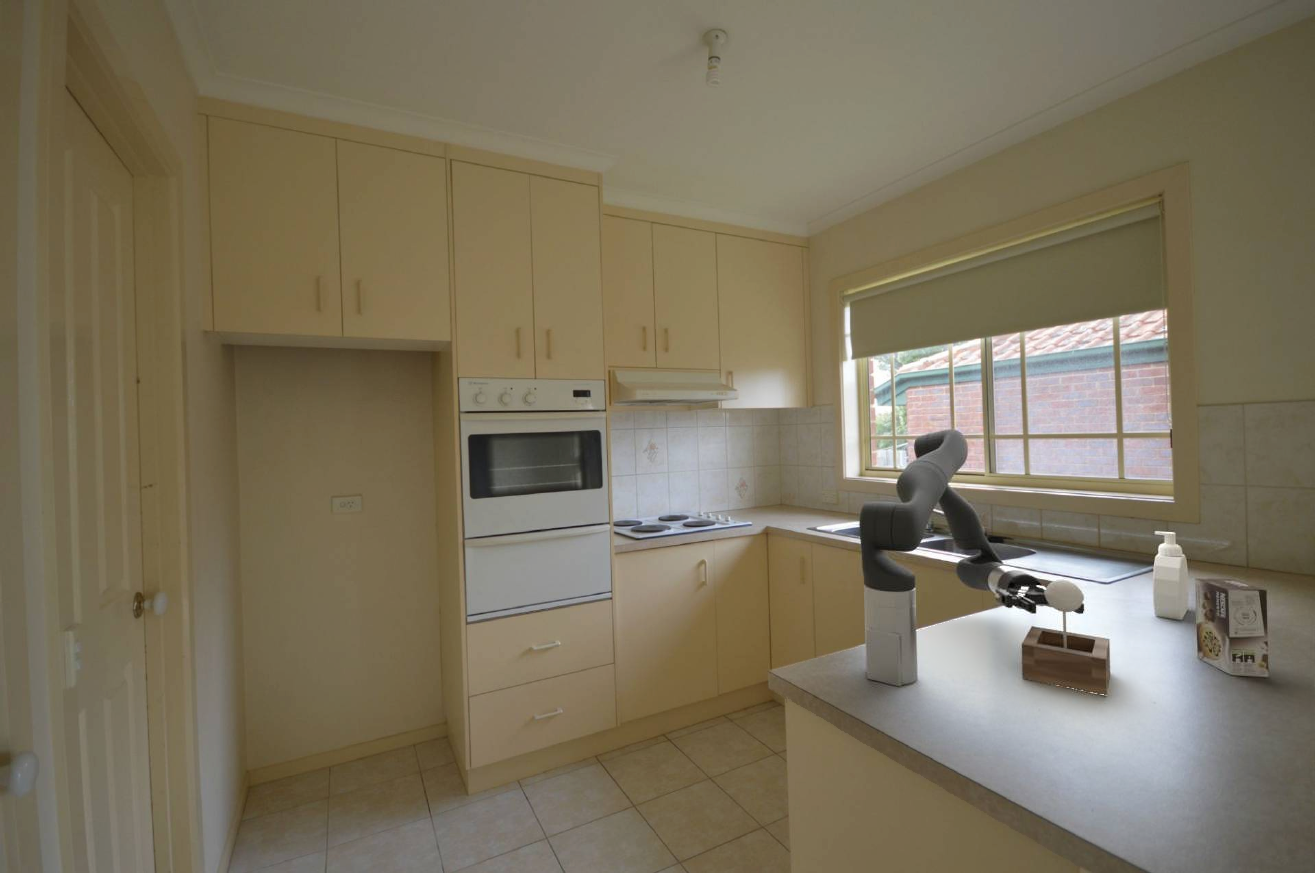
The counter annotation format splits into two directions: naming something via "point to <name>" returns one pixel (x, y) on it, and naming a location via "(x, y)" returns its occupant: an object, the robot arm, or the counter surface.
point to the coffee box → (1232, 626)
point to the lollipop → (1064, 599)
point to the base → (1066, 660)
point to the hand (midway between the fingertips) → (1057, 608)
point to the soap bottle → (1170, 579)
